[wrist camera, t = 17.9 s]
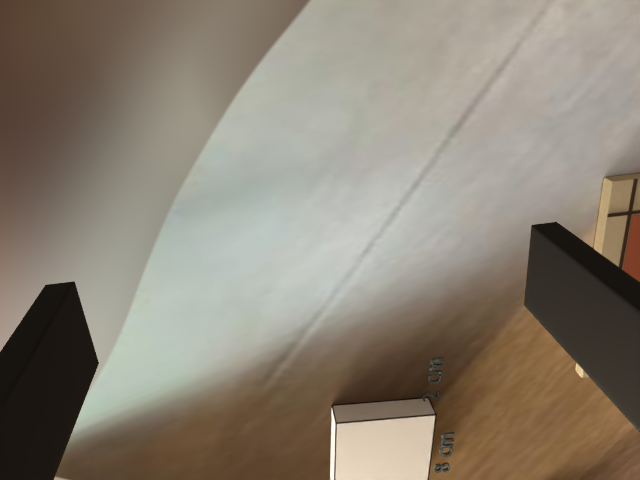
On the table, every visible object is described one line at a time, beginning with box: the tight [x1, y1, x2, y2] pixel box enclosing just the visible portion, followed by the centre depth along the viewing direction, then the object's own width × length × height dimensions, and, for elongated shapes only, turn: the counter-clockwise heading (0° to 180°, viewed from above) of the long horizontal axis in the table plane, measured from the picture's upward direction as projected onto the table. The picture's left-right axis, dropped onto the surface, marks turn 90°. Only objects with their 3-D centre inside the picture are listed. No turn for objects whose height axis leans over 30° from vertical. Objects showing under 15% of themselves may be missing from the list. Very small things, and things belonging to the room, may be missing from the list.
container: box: [330, 357, 455, 480], centre depth 53 cm, size 20×11×3 cm, turn 179°
